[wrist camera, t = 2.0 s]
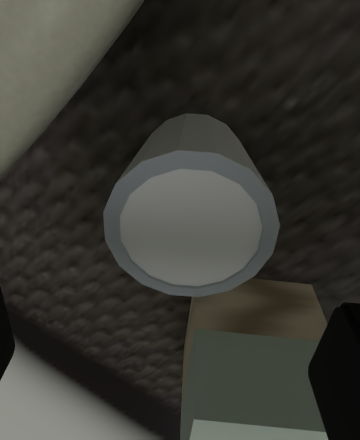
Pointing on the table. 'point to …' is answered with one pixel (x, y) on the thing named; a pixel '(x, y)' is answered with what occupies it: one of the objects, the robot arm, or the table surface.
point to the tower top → (249, 389)
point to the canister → (49, 61)
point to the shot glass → (191, 211)
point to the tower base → (257, 313)
